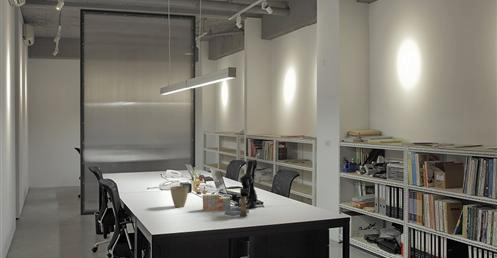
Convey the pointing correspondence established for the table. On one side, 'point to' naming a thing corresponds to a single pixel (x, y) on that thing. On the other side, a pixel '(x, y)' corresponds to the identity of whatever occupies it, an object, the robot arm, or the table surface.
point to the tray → (235, 211)
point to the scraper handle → (243, 207)
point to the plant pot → (179, 195)
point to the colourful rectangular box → (215, 202)
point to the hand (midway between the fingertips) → (242, 207)
